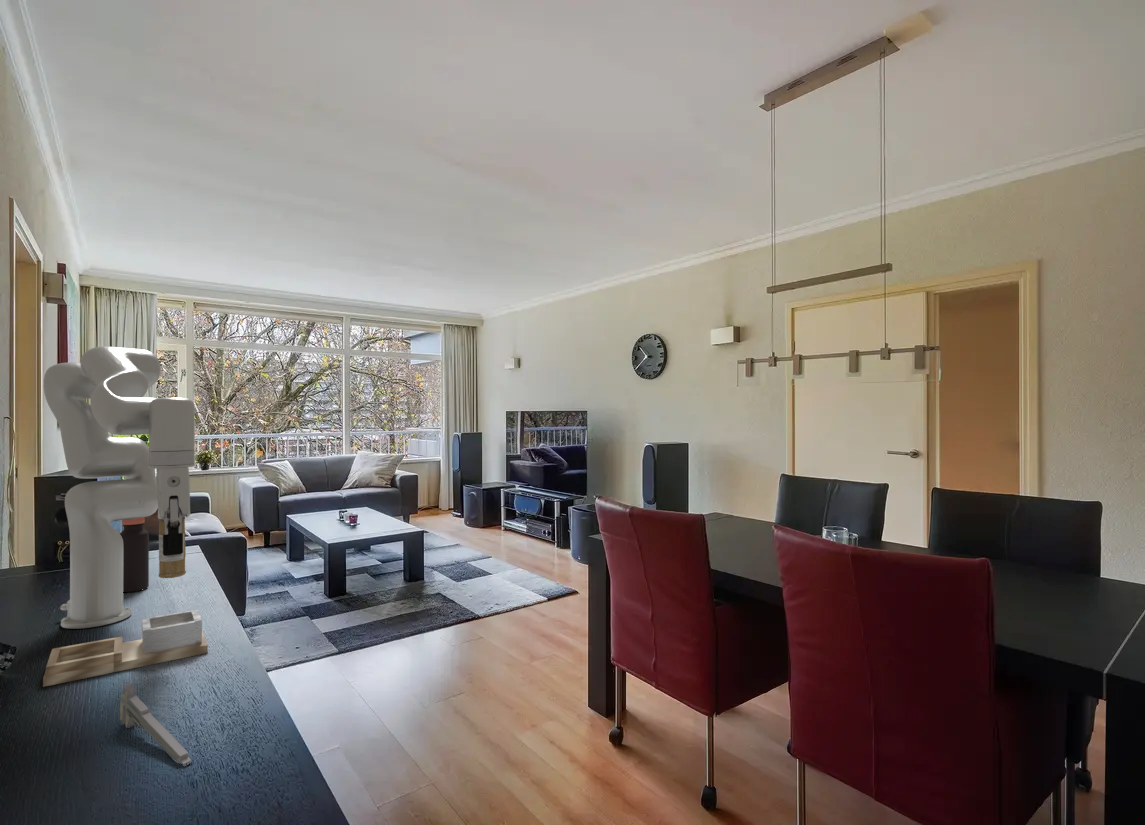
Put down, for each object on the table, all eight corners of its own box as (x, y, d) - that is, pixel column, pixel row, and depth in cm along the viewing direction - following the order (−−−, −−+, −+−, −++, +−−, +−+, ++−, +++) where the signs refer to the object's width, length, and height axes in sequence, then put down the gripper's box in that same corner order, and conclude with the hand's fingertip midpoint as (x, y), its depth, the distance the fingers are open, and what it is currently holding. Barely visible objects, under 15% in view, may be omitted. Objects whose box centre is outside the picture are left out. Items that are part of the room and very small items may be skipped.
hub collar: (142, 655, 110) (142, 631, 110) (141, 640, 118) (142, 618, 118) (202, 644, 116) (202, 620, 116) (197, 630, 123) (197, 609, 123)
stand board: (43, 686, 101) (43, 669, 101) (50, 664, 110) (50, 647, 110) (207, 652, 115) (207, 637, 115) (201, 635, 125) (201, 620, 125)
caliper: (119, 726, 88) (119, 684, 88) (128, 723, 89) (128, 681, 89) (184, 770, 77) (184, 721, 77) (193, 765, 78) (193, 717, 78)
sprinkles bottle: (187, 572, 120) (187, 505, 120) (183, 577, 116) (183, 508, 116) (160, 574, 118) (160, 507, 118) (155, 580, 114) (155, 510, 114)
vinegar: (154, 587, 162) (155, 513, 162) (130, 594, 156) (131, 517, 156) (135, 585, 164) (135, 513, 164) (110, 592, 157) (111, 517, 157)
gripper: (198, 461, 113) (198, 557, 113) (191, 457, 126) (191, 543, 126) (150, 463, 108) (150, 563, 108) (147, 459, 122) (147, 548, 121)
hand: (172, 551), depth 117 cm, fingers closed on sprinkles bottle, 4 cm apart
